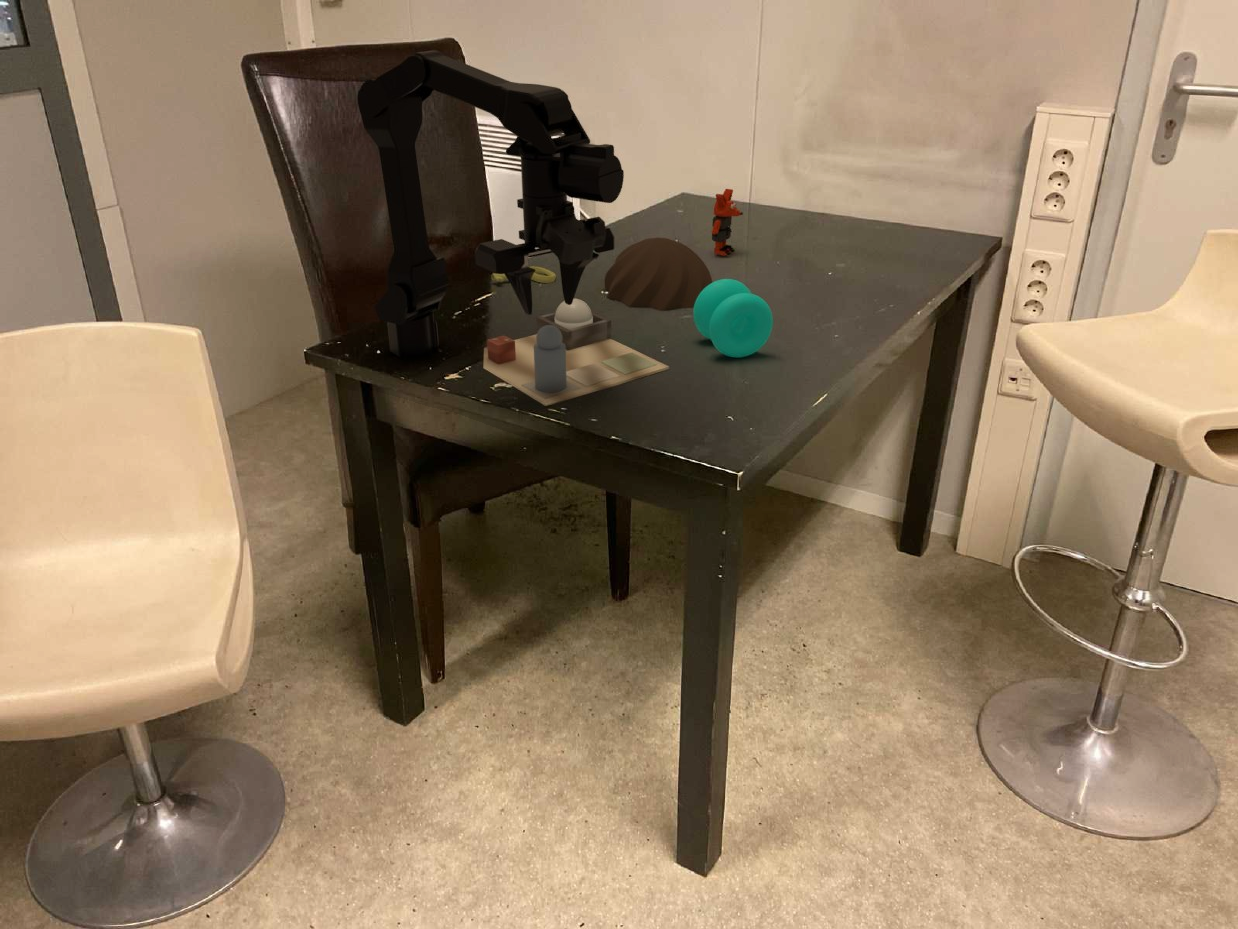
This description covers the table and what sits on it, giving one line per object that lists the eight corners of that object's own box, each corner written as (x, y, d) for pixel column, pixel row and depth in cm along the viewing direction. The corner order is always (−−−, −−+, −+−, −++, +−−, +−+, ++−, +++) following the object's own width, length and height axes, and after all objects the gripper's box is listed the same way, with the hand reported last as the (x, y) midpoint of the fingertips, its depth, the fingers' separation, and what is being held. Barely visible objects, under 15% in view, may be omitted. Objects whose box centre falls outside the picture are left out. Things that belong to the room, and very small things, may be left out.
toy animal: (732, 259, 197) (736, 198, 191) (707, 256, 199) (709, 195, 193) (747, 249, 203) (750, 189, 197) (722, 245, 205) (725, 186, 200)
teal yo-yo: (712, 363, 150) (715, 299, 146) (689, 340, 159) (691, 279, 154) (773, 356, 153) (778, 293, 148) (747, 334, 161) (751, 273, 156)
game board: (545, 407, 136) (544, 383, 135) (460, 356, 152) (458, 335, 151) (669, 368, 148) (670, 346, 147) (579, 325, 164) (578, 304, 163)
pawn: (546, 395, 139) (543, 333, 135) (529, 384, 142) (526, 324, 138) (572, 387, 141) (571, 327, 137) (555, 377, 144) (553, 318, 140)
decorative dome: (699, 315, 169) (702, 257, 165) (588, 304, 174) (587, 247, 170) (723, 281, 186) (726, 227, 181) (621, 271, 191) (621, 219, 186)
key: (488, 285, 182) (488, 274, 181) (538, 270, 190) (537, 259, 189) (515, 294, 178) (515, 282, 177) (564, 279, 186) (564, 267, 185)
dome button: (569, 344, 155) (568, 308, 152) (547, 333, 159) (546, 298, 156) (600, 336, 158) (600, 300, 155) (578, 325, 162) (577, 290, 160)
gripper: (517, 216, 118) (523, 341, 125) (640, 194, 128) (639, 310, 135) (469, 199, 126) (477, 317, 133) (589, 178, 136) (590, 289, 143)
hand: (548, 308), depth 136 cm, fingers open, 6 cm apart
